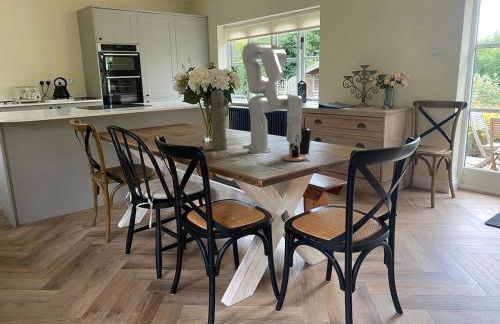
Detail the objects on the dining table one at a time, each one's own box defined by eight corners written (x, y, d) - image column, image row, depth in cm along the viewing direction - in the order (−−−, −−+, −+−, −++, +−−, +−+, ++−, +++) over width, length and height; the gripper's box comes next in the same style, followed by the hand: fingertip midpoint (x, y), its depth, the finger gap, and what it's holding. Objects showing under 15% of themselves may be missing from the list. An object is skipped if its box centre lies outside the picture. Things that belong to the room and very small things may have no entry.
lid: (286, 161, 187) (286, 150, 186) (279, 156, 198) (279, 145, 197) (309, 160, 189) (309, 148, 188) (301, 155, 201) (301, 144, 199)
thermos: (230, 149, 224) (228, 90, 216) (210, 151, 222) (207, 90, 214) (228, 147, 233) (226, 89, 225) (209, 148, 230) (206, 90, 222)
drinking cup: (303, 152, 213) (303, 116, 209) (314, 153, 208) (314, 117, 203) (294, 154, 209) (294, 117, 204) (304, 156, 203) (305, 118, 198)
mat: (286, 163, 186) (286, 163, 186) (278, 158, 199) (278, 157, 199) (311, 162, 189) (311, 161, 189) (302, 156, 201) (302, 156, 201)
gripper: (282, 118, 197) (282, 153, 201) (292, 123, 181) (292, 160, 185) (296, 118, 198) (295, 152, 202) (307, 122, 182) (306, 159, 187)
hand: (293, 155), depth 194 cm, fingers closed on lid, 4 cm apart
